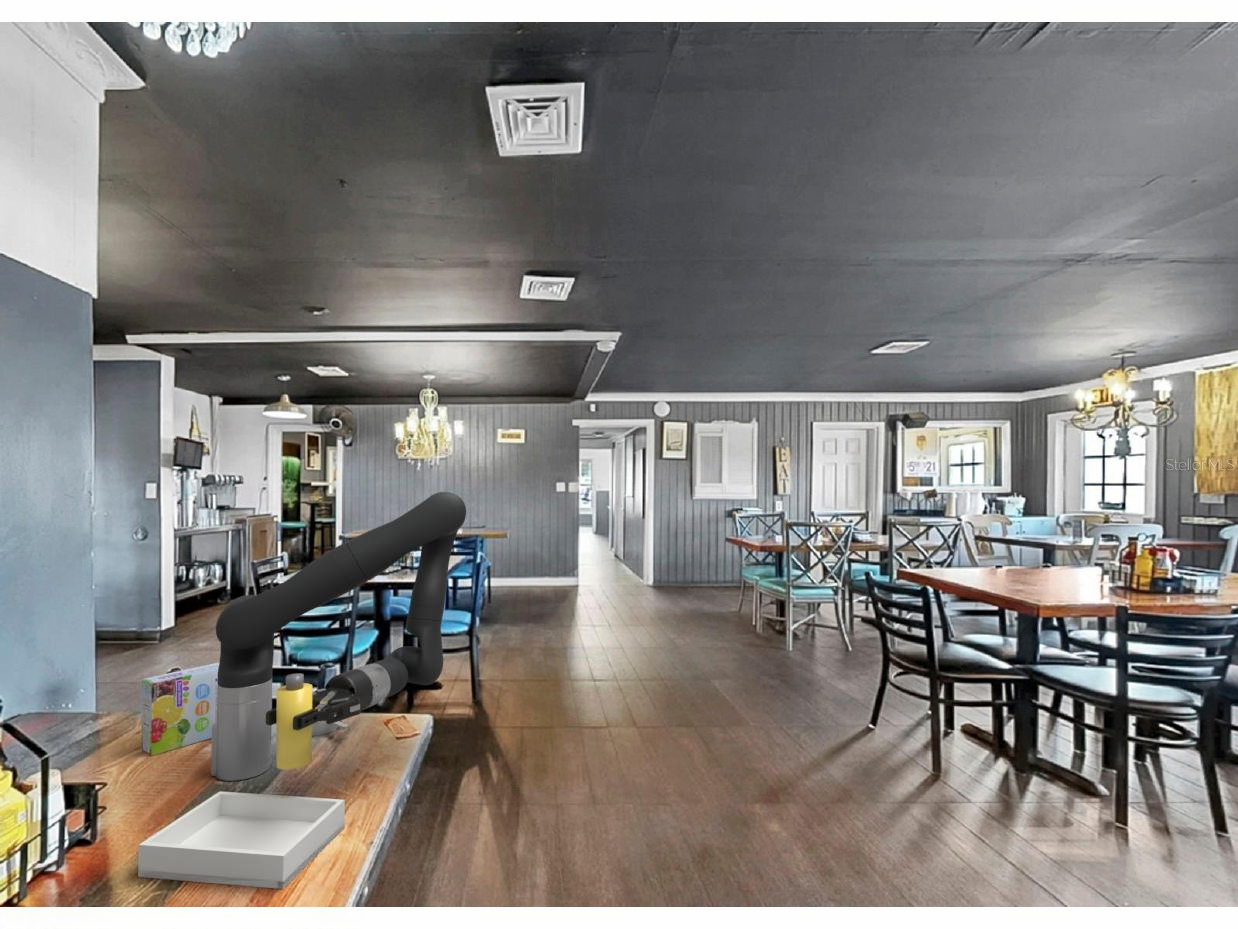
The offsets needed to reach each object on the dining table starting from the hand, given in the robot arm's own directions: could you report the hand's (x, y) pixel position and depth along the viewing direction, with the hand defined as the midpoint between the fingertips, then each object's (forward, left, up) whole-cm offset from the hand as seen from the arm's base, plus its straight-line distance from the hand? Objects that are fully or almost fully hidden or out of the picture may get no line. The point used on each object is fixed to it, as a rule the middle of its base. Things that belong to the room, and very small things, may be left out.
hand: (281, 721), depth 105 cm
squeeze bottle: (+1, +3, -7) cm, 8 cm away
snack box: (-41, +35, -18) cm, 57 cm away
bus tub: (-2, -4, -18) cm, 19 cm away
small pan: (-16, +41, -18) cm, 47 cm away
